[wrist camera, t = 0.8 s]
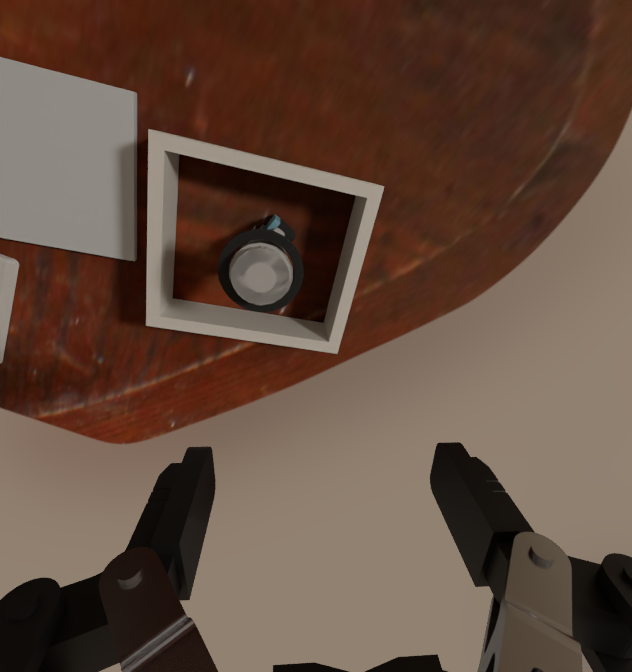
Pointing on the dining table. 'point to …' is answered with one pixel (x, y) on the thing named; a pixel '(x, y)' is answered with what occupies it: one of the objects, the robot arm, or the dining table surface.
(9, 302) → the light switch
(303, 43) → the dining table surface
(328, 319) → the grey rectangular frame
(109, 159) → the pad
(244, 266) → the push button
